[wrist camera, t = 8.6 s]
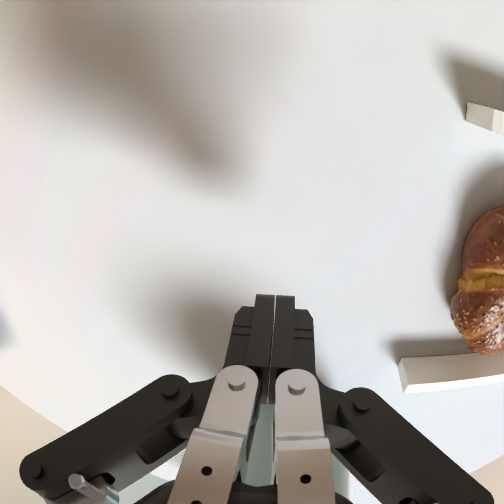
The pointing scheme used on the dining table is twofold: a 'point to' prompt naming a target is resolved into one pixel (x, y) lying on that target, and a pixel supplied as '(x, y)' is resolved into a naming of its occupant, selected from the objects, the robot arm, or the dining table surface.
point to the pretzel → (482, 286)
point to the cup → (262, 457)
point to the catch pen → (462, 365)
